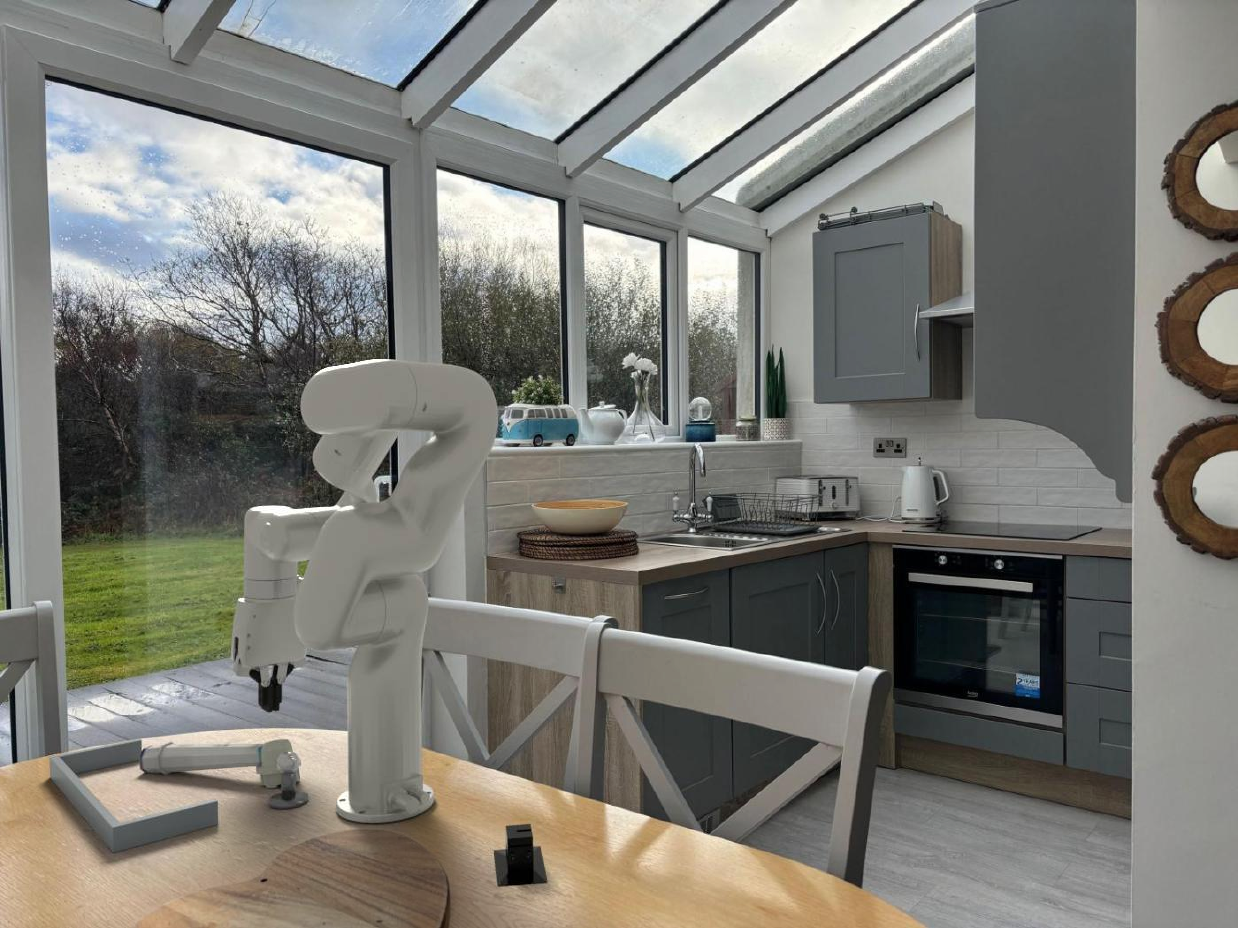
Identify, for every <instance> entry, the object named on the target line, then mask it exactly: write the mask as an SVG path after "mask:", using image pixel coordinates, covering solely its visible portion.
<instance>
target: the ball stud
mask: <svg viewBox="0 0 1238 928" xmlns="http://www.w3.org/2000/svg"><path fill="white" fill-rule="evenodd" d="M299 758H300V757H299V755H298V754H297V753H296V752H294V751H293V752H291V751H287V752H284V753H282V754H281V755H280V756H279V757H278V759H277V761H276V767H277V770H278V771H279V772H280V773H281V784H280V786H281V789H280V790H281V791H280V792H279V793H276V794H274V795H272V796H270V797H269V798H268V807H269V808H270V809H274V810H292V809H296V808H300V807H301V806H304V805H306V804H307V803H308V801H309V794H308V792H305V791H301V790H296V782H295V771H296V770H297V769H298V767H300V766H299V765H300V759H301V758H300V759H299Z"/></svg>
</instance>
